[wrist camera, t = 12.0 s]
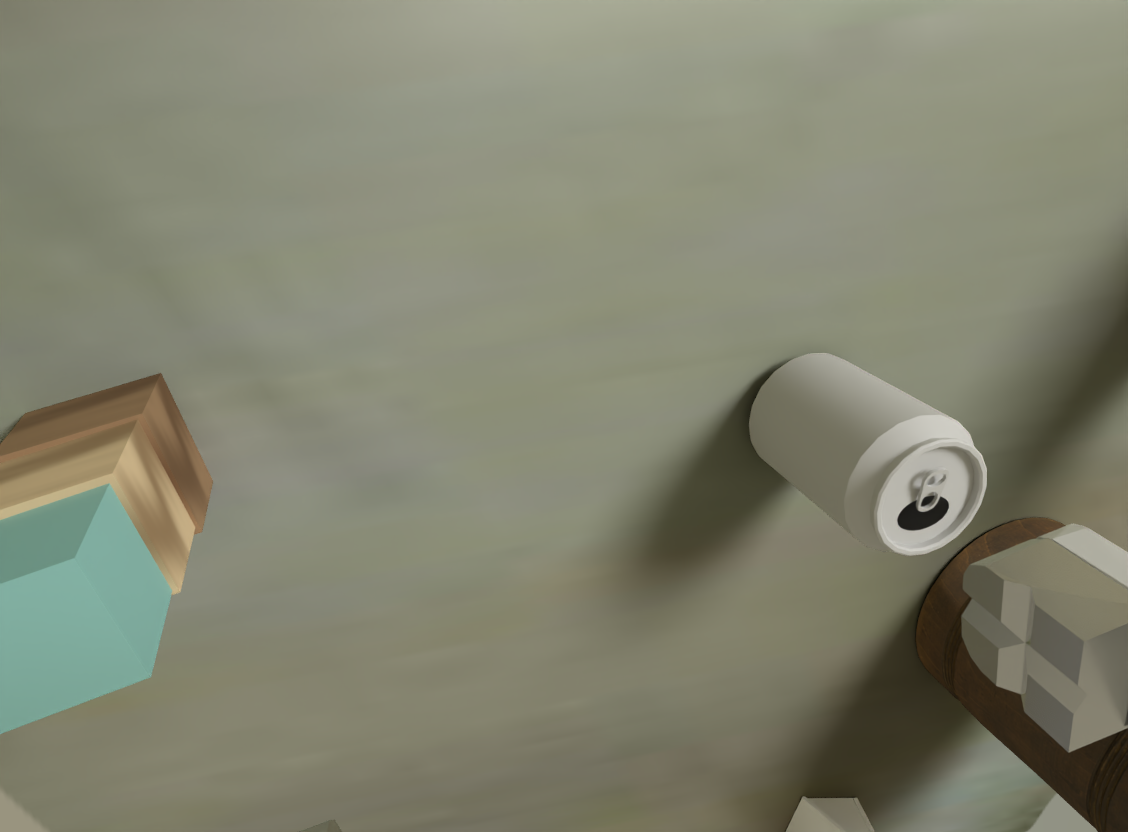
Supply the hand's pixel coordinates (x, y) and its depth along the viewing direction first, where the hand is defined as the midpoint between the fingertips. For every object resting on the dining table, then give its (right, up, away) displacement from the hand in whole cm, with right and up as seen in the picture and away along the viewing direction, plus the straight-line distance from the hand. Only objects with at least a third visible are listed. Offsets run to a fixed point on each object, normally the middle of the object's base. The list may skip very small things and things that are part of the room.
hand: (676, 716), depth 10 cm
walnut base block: (-22, +2, +29) cm, 36 cm away
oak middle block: (-21, 0, +24) cm, 32 cm away
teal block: (-19, -2, +20) cm, 28 cm away
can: (+13, +4, +39) cm, 41 cm away
